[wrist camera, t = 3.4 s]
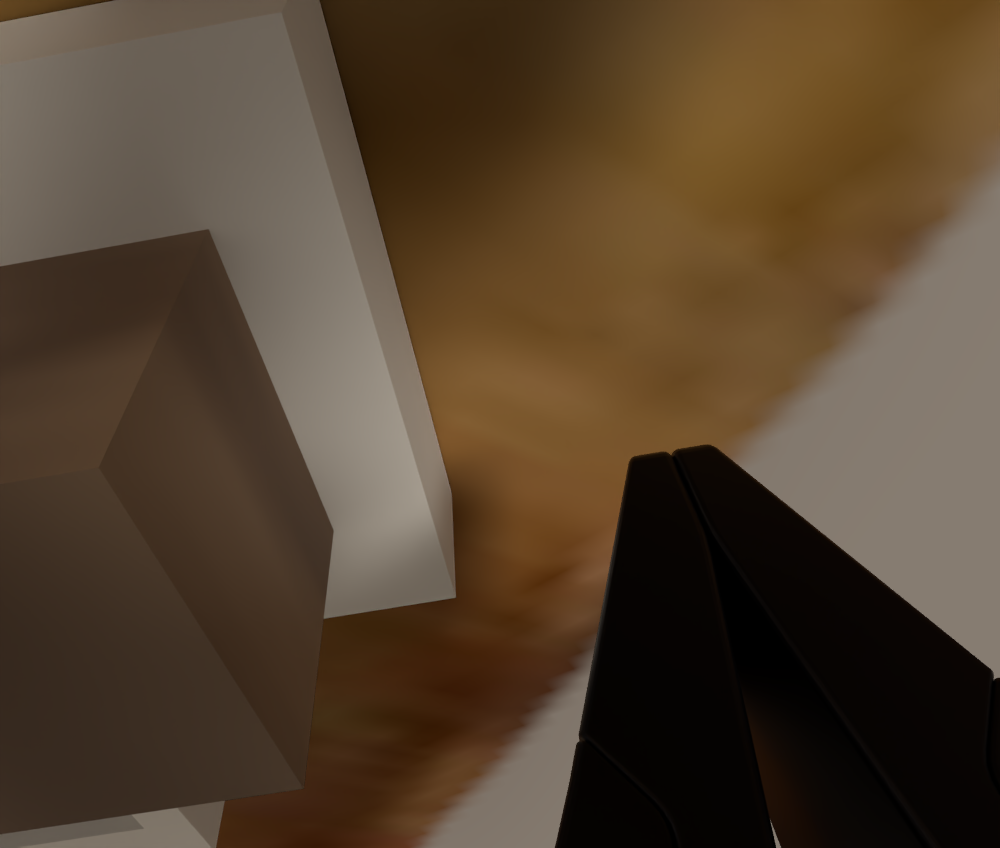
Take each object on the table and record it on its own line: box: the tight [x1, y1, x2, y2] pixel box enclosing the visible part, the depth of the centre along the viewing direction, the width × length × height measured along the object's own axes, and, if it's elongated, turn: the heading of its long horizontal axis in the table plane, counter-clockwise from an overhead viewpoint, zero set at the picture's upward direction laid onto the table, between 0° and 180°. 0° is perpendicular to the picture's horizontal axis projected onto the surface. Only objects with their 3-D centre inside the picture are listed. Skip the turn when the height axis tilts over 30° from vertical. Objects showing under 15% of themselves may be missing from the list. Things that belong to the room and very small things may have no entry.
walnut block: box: [0, 229, 334, 834], centre depth 9 cm, size 5×5×4 cm
